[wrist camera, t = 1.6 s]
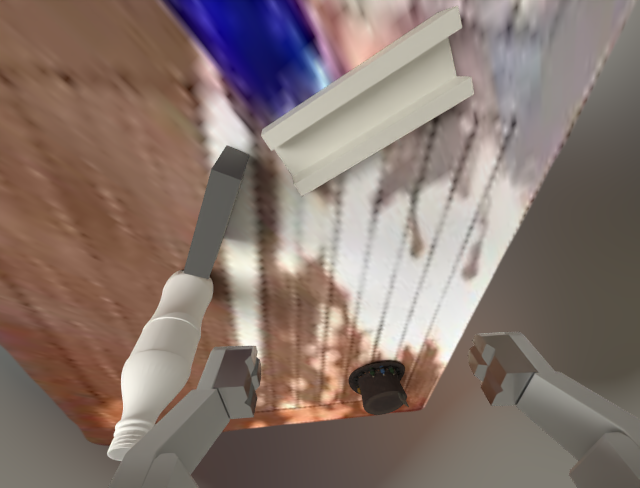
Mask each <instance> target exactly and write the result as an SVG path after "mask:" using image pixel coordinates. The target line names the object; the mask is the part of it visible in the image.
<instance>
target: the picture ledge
mask: <svg viewBox="0 0 640 488" xmlns="http://www.w3.org/2000/svg"><path fill="white" fill-rule="evenodd" d="M461 28H462V24H461V19H460V13H459V8H458V6H455V7H452V8H449V9H446V10H444V11H441V12H438V13H436V14H435V15H433V16H432V17H430V18H429V19H427V20H426V21H424V22H423V23H421V24H420V25H418V26H417V27H415V28H414V29H412V30H411V31H409V32H408V33H406V34H405V35H403V36H402V37H400V38H399V39H397V40H396V41H394V42H393V43H391V44H390V45H388V46H387V47H385V48H384V49H382V50H381V51H379V52H378V53H376V54H375V55H373V56H372V57H370V58H369V59H367V60H366V61H364V62H363V63H361V64H360V65H358V66H357V67H355V68H354V69H352V70H351V71H349V72H348V73H346V74H345V75H343V76H342V77H340V78H339V79H337V80H336V81H334V82H333V83H331V84H330V85H328V86H327V87H325V88H324V89H322V90H321V91H319V92H318V93H316V94H315V95H313V96H312V97H310V98H309V99H307V100H306V101H304V102H303V103H301V104H300V105H298V106H297V107H295V108H294V109H292V110H291V111H289V112H288V113H286V114H285V115H283V116H282V117H280V118H279V119H277V120H276V121H274V122H273V123H271V124H270V125H268V126H267V127H265V128H264V129H263V130H262V134H261V136H262V138H263V139H264V141H265V142H266V144H267V145H268V147H269V148H270V150H271V151H272V150H273V149H275V151H276V152H277V154H278V155H279V157H280V158H281V160H282V161H283V163H284V164H285V166H286V168H287V169H288V171H289V172H290V174H291V175H292V177H293V183H294V186H295V187H296V189H297V190H298V192H299V193H300V195H301V196H304V195H305V194H307V193H309V192H311V191H312V190H314V189H316V188H317V187H319V186H321V185H322V184H324V183H326V182H327V181H329V180H331V179H332V178H334V177H336V176H337V175H339V174H341V173H342V172H344V171H346V170H348V169H349V168H351V167H353V166H354V165H356V164H358V163H359V162H361V161H363V160H364V159H366V158H368V157H369V156H371V155H373V154H374V153H376V152H378V151H379V150H381V149H383V148H384V147H386V146H388V145H390V144H391V143H393V142H395V141H396V140H398V139H400V138H401V137H403V136H405V135H406V134H408V133H410V132H411V131H413V130H415V129H416V128H418V127H420V126H421V125H423V124H425V123H427V122H428V121H430V120H432V119H433V118H435V117H437V116H438V115H440V114H442V113H443V112H445V111H447V110H448V109H450V108H452V107H453V106H455V105H457V104H458V103H460V102H462V101H463V100H465V99H467V98H469V97H470V96H472V95H474V89H473V84H472V78H471V77H466V76H456V71H455V66H454V61H453V57H452V52H451V47H450V43H449V38H448V37H449V36H450V35H452V34H453V33H455V32H456V31H458V30H459V29H461Z"/></svg>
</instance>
